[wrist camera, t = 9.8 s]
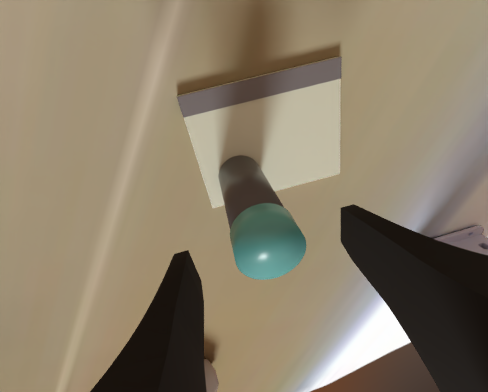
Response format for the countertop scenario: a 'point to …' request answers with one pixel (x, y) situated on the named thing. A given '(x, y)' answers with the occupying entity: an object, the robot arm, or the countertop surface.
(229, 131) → the notepad
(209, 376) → the tube
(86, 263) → the countertop surface
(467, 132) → the countertop surface
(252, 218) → the marker
